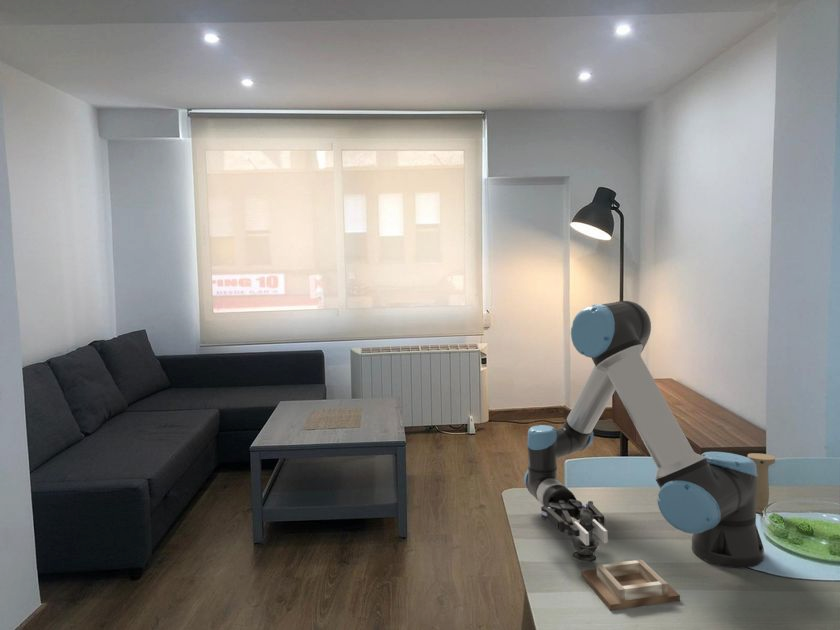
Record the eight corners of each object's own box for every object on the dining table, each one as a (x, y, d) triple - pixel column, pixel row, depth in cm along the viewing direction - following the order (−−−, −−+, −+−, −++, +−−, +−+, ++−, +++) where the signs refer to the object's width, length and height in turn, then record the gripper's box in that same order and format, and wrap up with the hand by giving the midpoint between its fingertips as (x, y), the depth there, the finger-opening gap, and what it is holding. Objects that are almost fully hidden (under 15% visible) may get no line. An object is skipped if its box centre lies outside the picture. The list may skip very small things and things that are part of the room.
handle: (774, 516, 172) (776, 460, 170) (746, 513, 174) (748, 458, 172) (772, 509, 176) (774, 454, 174) (745, 506, 179) (746, 452, 177)
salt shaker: (578, 548, 155) (580, 498, 154) (602, 556, 152) (604, 505, 150) (566, 557, 151) (568, 506, 150) (590, 565, 147) (593, 513, 146)
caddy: (645, 567, 148) (645, 552, 148) (679, 600, 135) (680, 584, 134) (581, 576, 146) (581, 560, 145) (610, 610, 132) (610, 593, 132)
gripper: (587, 509, 170) (632, 550, 147) (525, 516, 167) (560, 559, 144) (587, 480, 169) (632, 517, 146) (524, 487, 166) (560, 526, 143)
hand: (596, 538), depth 145 cm, fingers closed on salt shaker, 4 cm apart
